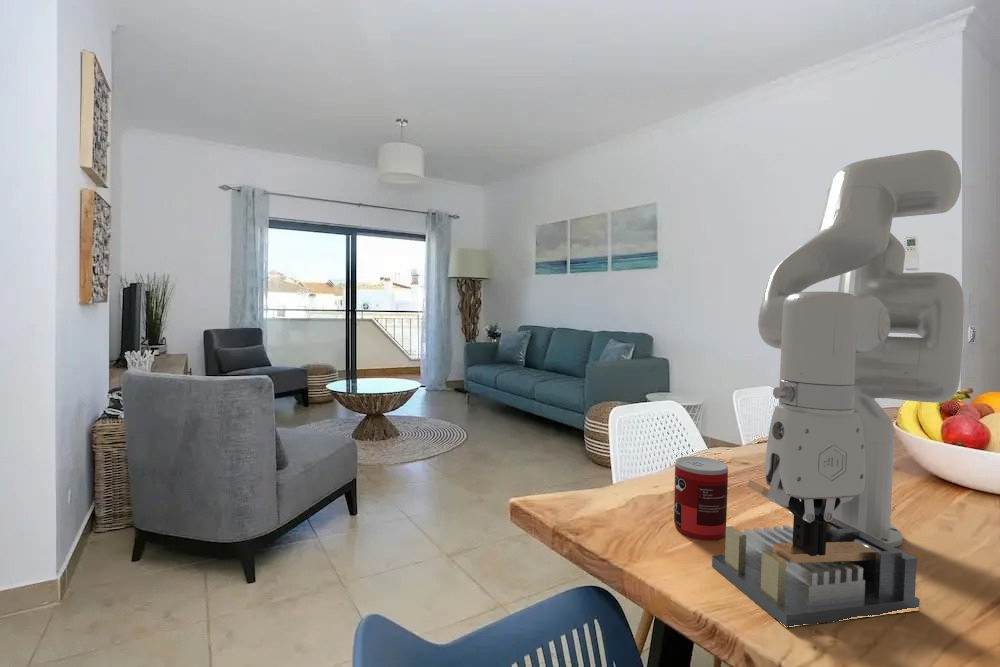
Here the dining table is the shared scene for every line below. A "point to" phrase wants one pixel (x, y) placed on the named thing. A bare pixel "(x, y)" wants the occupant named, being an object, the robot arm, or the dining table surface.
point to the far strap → (764, 492)
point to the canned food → (700, 497)
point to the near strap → (828, 552)
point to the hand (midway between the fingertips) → (808, 550)
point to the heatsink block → (817, 577)
